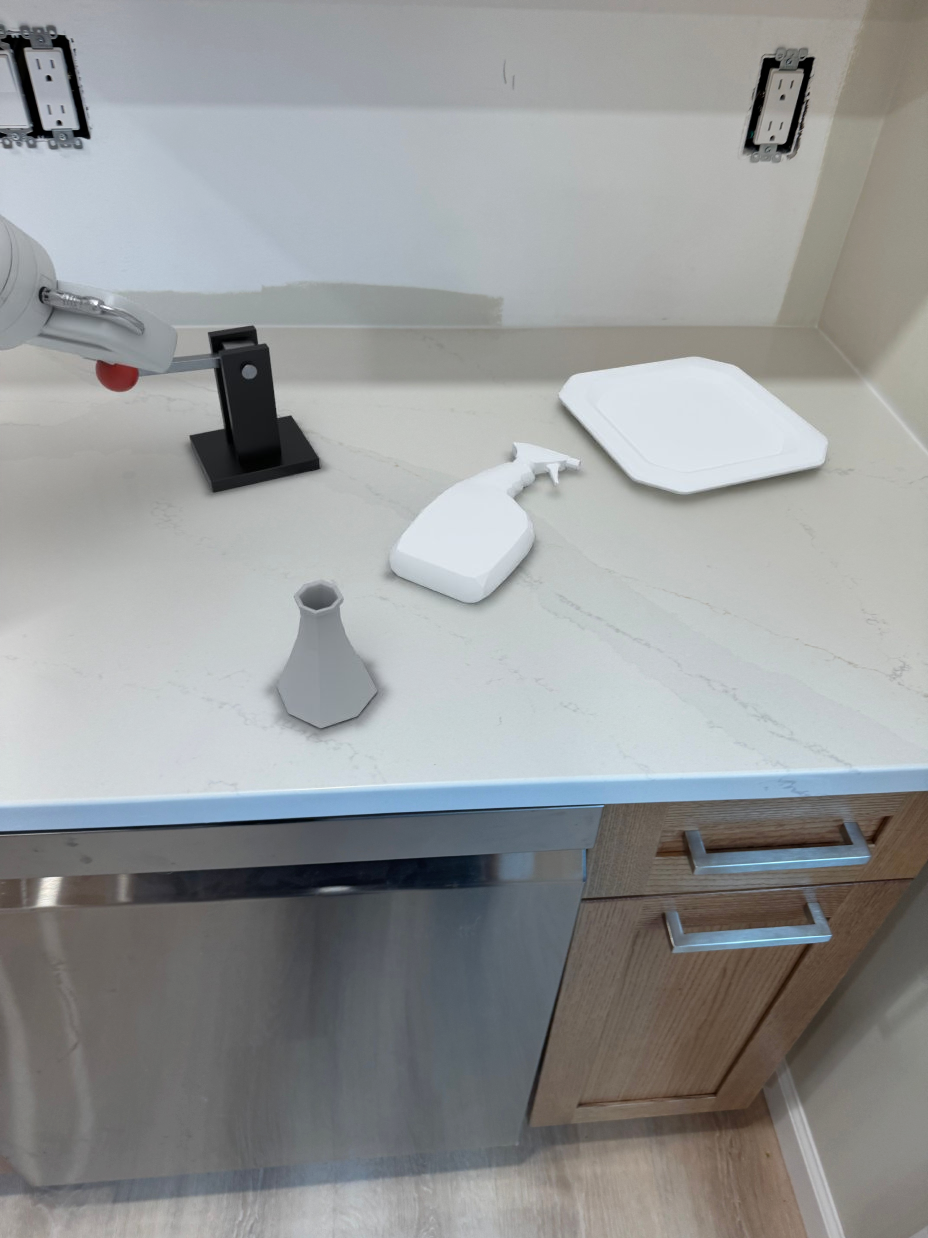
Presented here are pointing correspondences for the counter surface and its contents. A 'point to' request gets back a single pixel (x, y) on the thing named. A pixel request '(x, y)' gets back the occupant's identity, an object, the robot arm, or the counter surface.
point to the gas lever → (127, 377)
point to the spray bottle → (475, 528)
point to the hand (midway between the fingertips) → (103, 353)
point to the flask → (323, 662)
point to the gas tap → (249, 420)
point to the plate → (691, 424)
